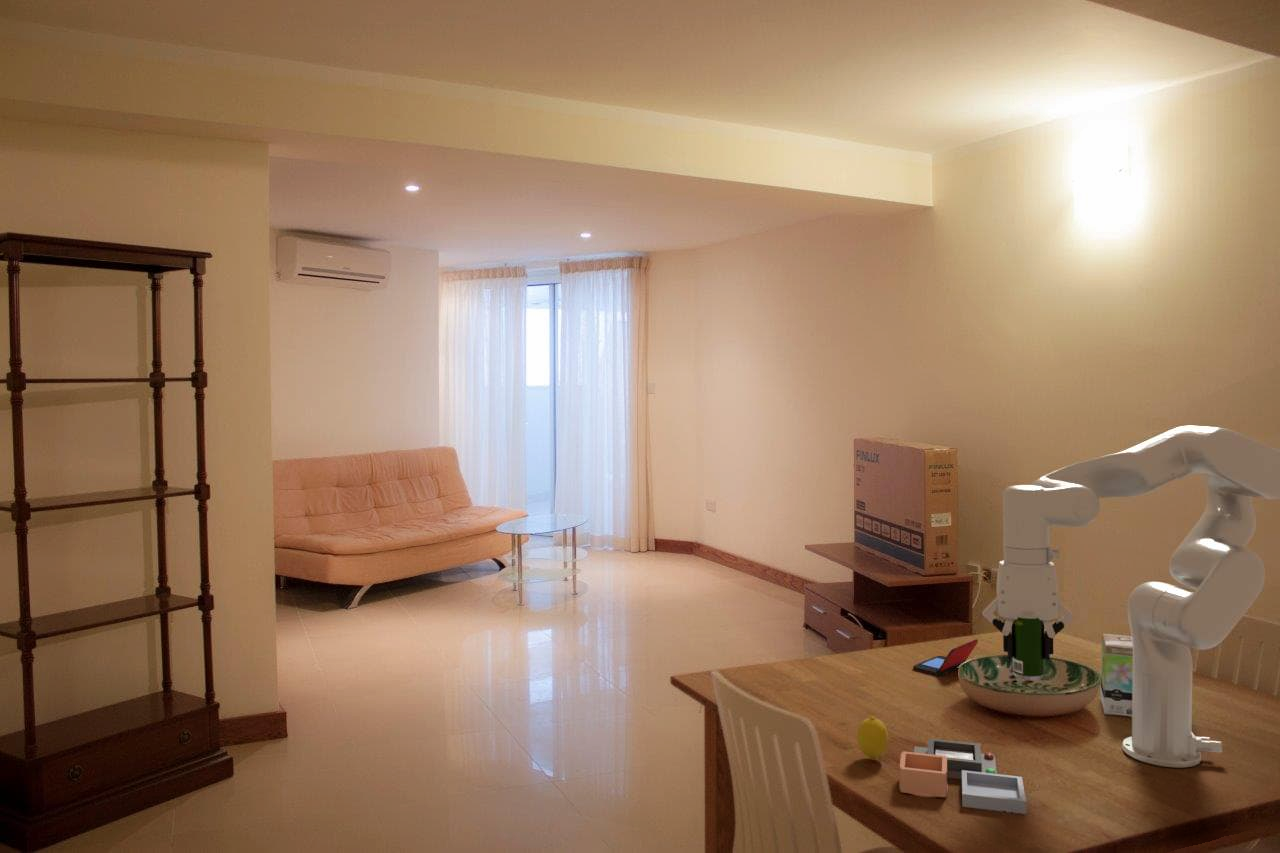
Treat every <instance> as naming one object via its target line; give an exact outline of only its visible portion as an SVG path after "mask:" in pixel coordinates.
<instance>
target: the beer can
mask: <svg viewBox="0 0 1280 853" xmlns="http://www.w3.org/2000/svg"><path fill="white" fill-rule="evenodd" d="M1022 613H1023V614H1022V615H1020V616H1018V619H1017V620H1014V621H1013V624H1012V627H1011V630H1010V631H1011V633H1012V646H1013V658H1011V672H1012V673H1013V676H1015V677H1016V678H1017V679H1020V680H1027V681H1038V680H1039V681H1040V680H1041V679H1043V678H1044V676H1045V673H1046V659H1045V652H1044V633H1045V626H1044V623H1043V621H1040V620H1039V617H1038V616H1036V615H1035V612H1022Z"/></svg>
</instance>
